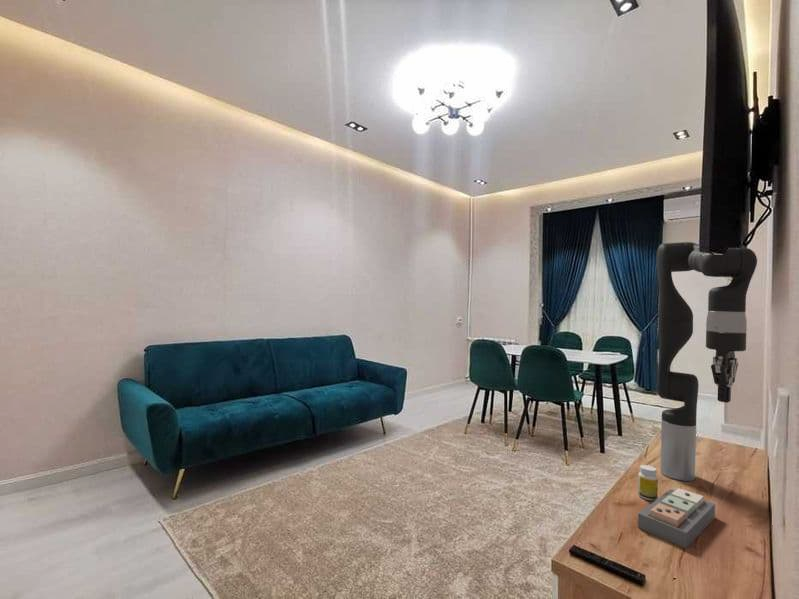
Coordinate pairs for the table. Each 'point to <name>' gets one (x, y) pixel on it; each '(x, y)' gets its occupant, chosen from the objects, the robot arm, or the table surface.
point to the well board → (685, 531)
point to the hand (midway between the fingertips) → (723, 401)
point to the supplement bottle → (647, 483)
